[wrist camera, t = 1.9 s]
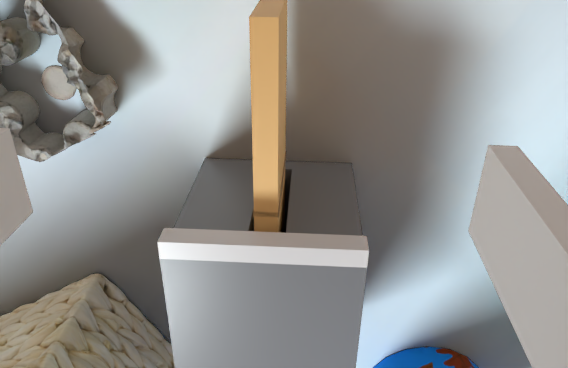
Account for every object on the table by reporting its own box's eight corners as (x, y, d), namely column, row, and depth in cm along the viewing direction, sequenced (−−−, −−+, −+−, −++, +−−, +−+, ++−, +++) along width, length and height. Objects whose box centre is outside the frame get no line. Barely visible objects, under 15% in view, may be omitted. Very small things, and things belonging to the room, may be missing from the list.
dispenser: (338, 317, 40) (346, 448, 30) (216, 311, 40) (184, 439, 30) (352, 149, 33) (369, 250, 23) (204, 144, 33) (157, 241, 23)
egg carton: (137, 107, 32) (115, 131, 29) (50, 151, 34) (19, 178, 31) (30, -54, 28) (-11, -49, 24) (-63, 7, 30) (-114, 20, 26)
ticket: (284, 304, 37) (277, 384, 30) (267, 303, 37) (256, 383, 31) (288, -8, 26) (279, 17, 20) (264, -8, 26) (248, 16, 20)
